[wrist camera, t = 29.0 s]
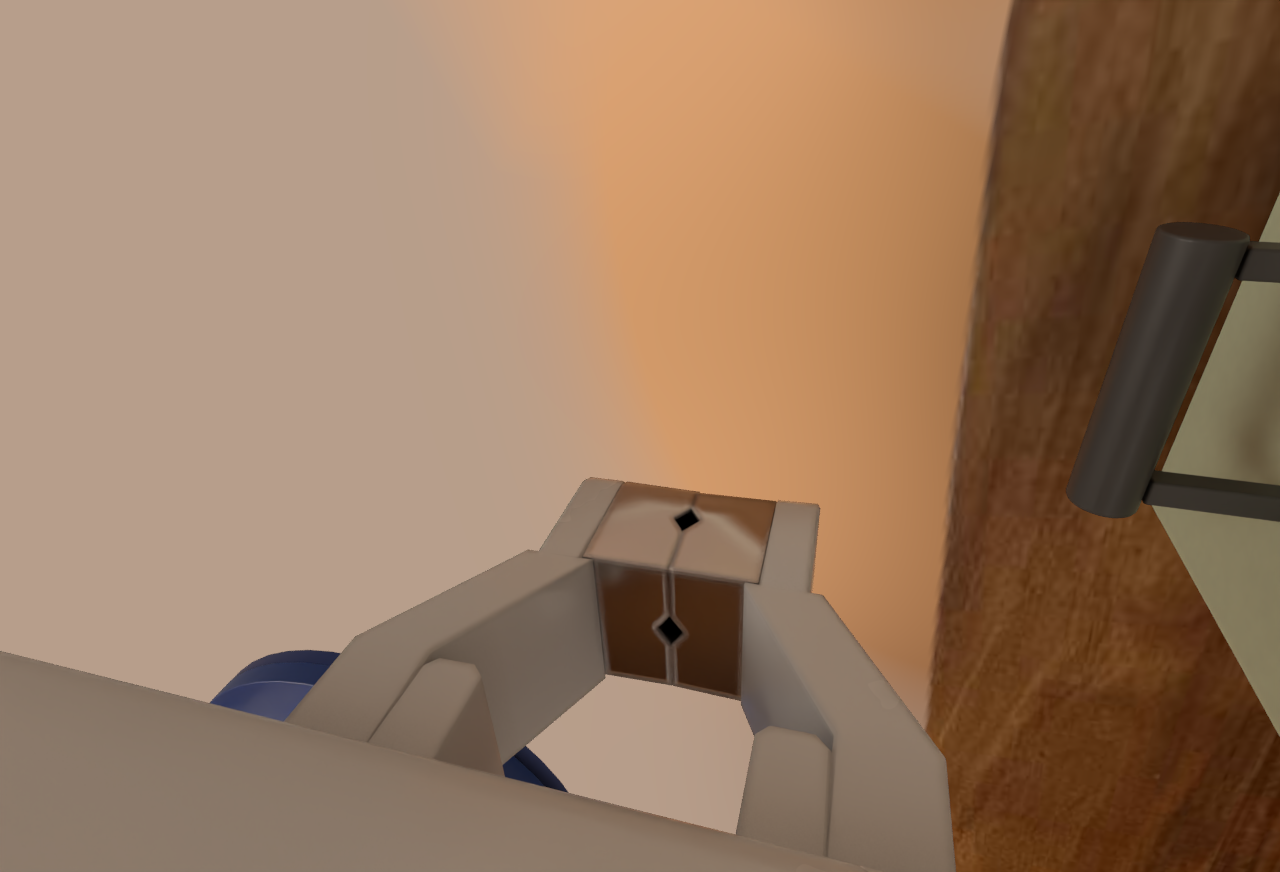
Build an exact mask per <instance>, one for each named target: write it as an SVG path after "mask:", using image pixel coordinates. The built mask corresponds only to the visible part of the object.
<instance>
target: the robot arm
mask: <svg viewBox="0 0 1280 872" xmlns="http://www.w3.org/2000/svg"><path fill="white" fill-rule="evenodd" d="M819 515H820V507H819V505H818V504H812V503H801V502H790V501H778V502H776V501H769V500H760V499H751V498H741V497H732V496H724V495H714V494H705V493H700V492H696V491H689V490H681V489H675V488H668V487H661V486H653V485H647V484H639V483H633V482H626V483H625V482H623V481H618V480H609V479H601V478H593V477H590V478H589V479H586V480H584V481H583V482H582V484H581V485H580V487H579V489H578V490H577V492H576V493H575V495H574V496H573V498H572V499H571V501H570V503H569V504H568V506H567V507H566V509H565V511H564V512H563V514H562V515H561V517H560V518H559V520H558V521H557V523H556V525H555V526H554V528H553V529H552V531H551V533H550V534H549V536H548V537H547V539H546V540H545V542H544V544H543V545H542V547H541V548H540V550H539V551H533V550H526V551H525V552H523V553H521V554H518V555H516V556H515V557H513V558H511V559H509V560H507V561H505V562H503V563H501V564H499V565H497V566H495V567H493V568H491V569H489V570H487V571H485V572H483V573H481V574H479V575H477V576H475V577H473V578H471V579H469V580H467V581H465V582H463V583H461V584H459V585H457V586H455V587H453V588H451V589H449V590H447V591H445V592H443V593H441V594H439V595H437V596H435V597H433V598H431V599H429V600H427V601H425V602H423V603H421V604H419V605H417V606H415V607H413V608H411V609H409V610H407V611H405V612H403V613H401V614H399V615H397V616H395V617H393V618H391V619H389V620H387V621H385V622H383V623H381V624H379V625H377V626H375V627H373V628H371V629H369V630H367V631H366V632H364V633H361V634H359V635H357V636H355V637H354V639H353V640H352V641H351V642H350V643H349V645H348V646H347V647H346V648H345V649H344V650H343V652H342V653H341V654H340V655H339V656H338V658H337V659H336V660H335V661H334V662H333V664H332V665H331V666H330V667H329V668H328V669H327V671H326V672H325V673H324V674H323V675H322V677H321V678H320V679H319V680H318V681H317V682H316V684H315V685H314V686H313V687H312V688H311V690H310V691H309V692H308V693H307V694H306V696H305V697H304V698H303V699H302V700H301V701H300V703H299V704H298V705H297V706H296V707H295V709H294V710H293V711H292V712H291V713H290V715H289V716H288V717H287V718H286V719H285V720H284V722H283V721H279V720H275V719H271V718H267V717H263V716H259V715H255V714H251V713H247V712H243V711H239V710H235V709H231V708H227V707H223V706H219V705H215V704H211V703H206V702H202V701H198V700H195V699H190V698H187V697H183V696H179V695H175V694H171V693H167V692H163V691H159V690H155V689H150V688H146V687H143V686H139V685H134V684H131V683H127V682H122V681H118V680H114V679H111V678H107V677H102V676H98V675H95V674H91V673H87V672H83V671H79V670H75V669H70V668H67V667H62V666H59V665H54V664H50V663H46V662H43V661H39V660H34V659H30V658H26V657H22V656H18V655H14V654H10V653H6V652H2V651H0V872H956V868H955V857H954V846H953V835H952V823H951V812H950V801H949V790H948V779H947V768H946V759H945V757H944V756H943V755H942V753H941V752H940V751H939V749H938V748H937V747H936V745H935V744H934V743H933V741H932V740H931V739H930V737H929V736H928V735H927V733H926V732H925V731H924V729H923V728H922V727H921V725H920V724H919V723H918V721H917V720H916V719H915V717H914V716H913V715H912V713H911V712H910V711H909V709H908V708H907V707H906V705H905V704H904V703H903V701H902V700H901V699H900V697H899V696H898V695H897V693H896V692H895V691H894V689H893V688H892V687H891V685H890V684H889V683H888V681H887V680H886V679H885V677H884V676H883V675H882V673H881V672H880V671H879V669H878V668H877V667H876V665H875V664H874V663H873V661H872V660H871V659H870V657H869V656H868V655H867V654H866V652H865V651H864V649H863V648H862V647H861V645H860V644H859V643H858V641H857V640H856V639H855V637H854V636H853V635H852V633H851V632H850V631H849V629H848V628H847V627H846V625H845V624H844V623H843V621H842V620H841V619H840V618H839V616H838V615H837V613H836V612H835V611H834V609H833V608H832V607H831V605H830V604H829V603H828V601H827V600H826V599H825V597H824V596H823V595H820V594H813V593H812V588H813V577H814V567H815V557H816V546H817V536H818V525H819ZM605 674H608V675H614V676H620V677H626V678H632V679H637V680H643V681H649V682H655V683H661V684H667V685H673V686H677V687H682V688H686V689H690V690H695V691H699V692H703V693H708V694H712V695H717V696H721V697H726V698H730V699H735V700H739V701H741V706H742V708H743V711H744V712H745V715H746V718H747V720H748V723H749V725H750V727H751V730H752V732H753V735H754V741H753V746H752V752H751V757H750V762H749V767H748V772H747V778H746V783H745V788H744V793H743V799H742V804H741V809H740V814H739V820H738V825H737V830H736V835H735V834H731V833H727V832H723V831H719V830H715V829H711V828H707V827H703V826H699V825H694V824H691V823H687V822H683V821H679V820H674V819H671V818H667V817H663V816H659V815H655V814H651V813H647V812H643V811H639V810H634V809H631V808H627V807H622V806H619V805H614V804H611V803H607V802H603V801H598V800H595V799H590V798H587V797H582V796H579V795H575V794H571V793H567V792H563V791H559V790H555V789H551V788H547V787H543V786H539V785H535V784H531V783H527V782H523V781H519V780H515V779H511V778H507V777H505V775H504V770H503V766H502V765H503V764H504V763H505V762H507V761H508V760H509V759H510V758H511V757H513V756H514V755H515V754H516V753H517V752H518V751H520V750H521V749H522V748H523V747H524V746H526V745H527V744H528V743H529V742H530V741H532V739H534V738H535V737H536V736H537V735H539V734H540V733H541V732H542V731H543V730H545V729H546V728H547V727H548V726H549V725H550V724H552V723H553V722H554V721H555V720H556V719H557V718H559V717H560V716H561V715H562V714H563V713H564V712H566V711H567V710H568V709H569V708H571V707H572V706H573V705H574V704H575V703H577V702H578V701H579V700H580V699H581V698H582V697H584V696H585V695H586V694H587V693H588V692H589V691H591V690H592V689H593V688H594V687H595V686H597V685H598V684H599V683H600V682H601V681H603V680H604V679H605Z"/></svg>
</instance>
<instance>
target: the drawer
mask: <svg viewBox="0 0 1280 872" xmlns="http://www.w3.org/2000/svg"><path fill="white" fill-rule="evenodd" d="M1234 277H1235V278H1236V279H1237V280H1240V281H1242V283H1241V285H1240V288H1239V290H1238V292H1237V295H1236V297H1235V299H1234V302H1233V304H1232V306H1231V309H1230V311H1229V313H1228V316H1227V318H1226V321H1225V323H1224V325H1223V328H1222V330H1221V332H1220V335H1219V337H1218V339H1217V342H1216V344H1215V347H1214V349H1213V351H1212V354H1211V356H1210V358H1209V361H1208V363H1207V365H1206V368H1205V370H1204V372H1203V375H1202V377H1201V380H1200V382H1199V384H1198V387H1197V389H1196V391H1195V394H1194V396H1193V398H1192V401H1191V403H1190V405H1189V408H1188V410H1187V413H1186V415H1185V417H1184V420H1183V422H1182V424H1181V427H1180V429H1179V431H1178V434H1177V436H1176V439H1175V441H1174V443H1173V446H1172V448H1171V450H1170V453H1169V455H1168V457H1167V460H1166V462H1165V464H1164V467H1163V469H1162V471H1156V470H1154V469H1155V467H1156V464H1157V462H1158V460H1159V457H1160V455H1161V452H1162V450H1163V448H1164V445H1165V443H1166V440H1167V438H1168V436H1169V433H1170V431H1171V428H1172V426H1173V424H1174V421H1175V419H1176V416H1177V414H1178V412H1179V409H1180V407H1181V404H1182V402H1183V400H1184V397H1185V395H1186V392H1187V390H1188V388H1189V385H1190V383H1191V380H1192V378H1193V376H1194V373H1195V371H1196V368H1197V366H1198V364H1199V361H1200V359H1201V356H1202V354H1203V352H1204V349H1205V347H1206V344H1207V342H1208V340H1209V337H1210V335H1211V332H1212V330H1213V328H1214V325H1215V323H1216V320H1217V318H1218V316H1219V313H1220V311H1221V308H1222V306H1223V304H1224V301H1225V299H1226V296H1227V294H1228V292H1229V289H1230V287H1231V284H1232V282H1233V280H1234ZM1066 494H1067V496H1068V498H1069V499H1070V501H1071V502H1072V503H1074V504H1075V505H1076V506H1078V507H1079V508H1081V509H1083V510H1085V511H1087V512H1090V513H1092V514H1095V515H1099V516H1103V517H1109V518H1125V517H1129V516H1131V515H1133V514H1134V513H1136V512H1137V510H1138V508H1139V505H1140V503H1141V500H1142V501H1143V503H1145V504H1147V505H1152V507H1153V509H1154V510H1155V512H1156V514H1157V516H1158V518H1159V519H1160V521H1161V523H1162V525H1163V527H1164V528H1165V530H1166V532H1167V534H1168V536H1169V538H1170V539H1171V541H1172V543H1173V545H1174V547H1175V548H1176V550H1177V552H1178V554H1179V556H1180V557H1181V559H1182V561H1183V563H1184V565H1185V566H1186V568H1187V570H1188V572H1189V574H1190V575H1191V577H1192V579H1193V581H1194V583H1195V585H1196V586H1197V588H1198V590H1199V592H1200V594H1201V595H1202V597H1203V599H1204V601H1205V603H1206V604H1207V606H1208V608H1209V610H1210V612H1211V613H1212V615H1213V617H1214V619H1215V621H1216V622H1217V624H1218V626H1219V628H1220V630H1221V632H1222V633H1223V635H1224V637H1225V639H1226V641H1227V642H1228V644H1229V646H1230V648H1231V650H1232V651H1233V653H1234V655H1235V657H1236V659H1237V660H1238V662H1239V664H1240V666H1241V668H1242V669H1243V671H1244V673H1245V675H1246V677H1247V679H1248V680H1249V682H1250V684H1251V686H1252V688H1253V689H1254V691H1255V693H1256V695H1257V697H1258V698H1259V700H1260V702H1261V704H1262V706H1263V707H1264V709H1265V711H1266V713H1267V715H1268V716H1269V718H1270V720H1271V722H1272V724H1273V726H1274V727H1275V729H1276V731H1277V733H1278V735H1279V736H1280V193H1279V195H1278V198H1277V200H1276V203H1275V205H1274V207H1273V210H1272V212H1271V214H1270V217H1269V219H1268V221H1267V224H1266V226H1265V229H1264V231H1263V233H1262V236H1261V238H1260V240H1259V242H1257V241H1250V236H1249V235H1248V234H1246V233H1244V232H1242V231H1239V230H1237V229H1233V228H1229V227H1225V226H1219V225H1213V224H1205V223H1193V222H1175V223H1167V224H1162V225H1160V226H1158V227H1157V229H1156V231H1155V234H1154V237H1153V240H1152V243H1151V245H1150V248H1149V251H1148V254H1147V257H1146V260H1145V263H1144V266H1143V269H1142V271H1141V274H1140V277H1139V280H1138V283H1137V286H1136V289H1135V292H1134V294H1133V297H1132V300H1131V303H1130V306H1129V309H1128V312H1127V315H1126V318H1125V320H1124V323H1123V326H1122V329H1121V332H1120V335H1119V338H1118V341H1117V344H1116V346H1115V349H1114V352H1113V355H1112V358H1111V361H1110V364H1109V367H1108V369H1107V372H1106V375H1105V378H1104V381H1103V384H1102V387H1101V390H1100V393H1099V395H1098V398H1097V401H1096V404H1095V407H1094V410H1093V413H1092V416H1091V419H1090V421H1089V424H1088V427H1087V430H1086V433H1085V436H1084V439H1083V442H1082V444H1081V447H1080V450H1079V453H1078V456H1077V459H1076V462H1075V465H1074V468H1073V470H1072V473H1071V476H1070V479H1069V482H1068V485H1067V488H1066Z"/></svg>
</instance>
